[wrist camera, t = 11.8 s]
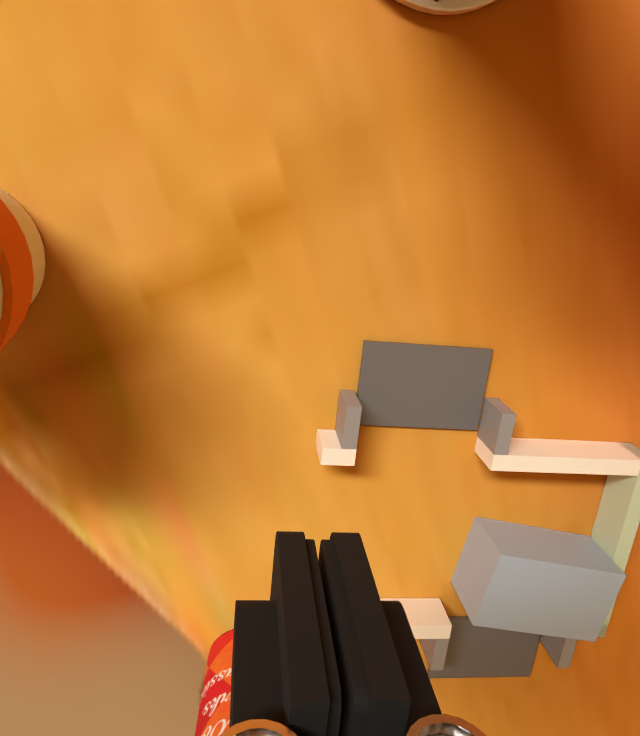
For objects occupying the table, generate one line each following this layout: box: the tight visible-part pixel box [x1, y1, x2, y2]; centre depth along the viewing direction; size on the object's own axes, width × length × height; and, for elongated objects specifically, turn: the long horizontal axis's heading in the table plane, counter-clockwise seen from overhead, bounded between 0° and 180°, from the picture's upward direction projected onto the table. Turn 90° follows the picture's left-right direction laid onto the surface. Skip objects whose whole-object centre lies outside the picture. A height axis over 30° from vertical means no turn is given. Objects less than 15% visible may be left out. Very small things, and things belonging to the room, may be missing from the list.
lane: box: [316, 340, 640, 678], centre depth 43 cm, size 29×24×3 cm
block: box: [451, 516, 627, 642], centre depth 44 cm, size 6×10×5 cm, turn 75°
